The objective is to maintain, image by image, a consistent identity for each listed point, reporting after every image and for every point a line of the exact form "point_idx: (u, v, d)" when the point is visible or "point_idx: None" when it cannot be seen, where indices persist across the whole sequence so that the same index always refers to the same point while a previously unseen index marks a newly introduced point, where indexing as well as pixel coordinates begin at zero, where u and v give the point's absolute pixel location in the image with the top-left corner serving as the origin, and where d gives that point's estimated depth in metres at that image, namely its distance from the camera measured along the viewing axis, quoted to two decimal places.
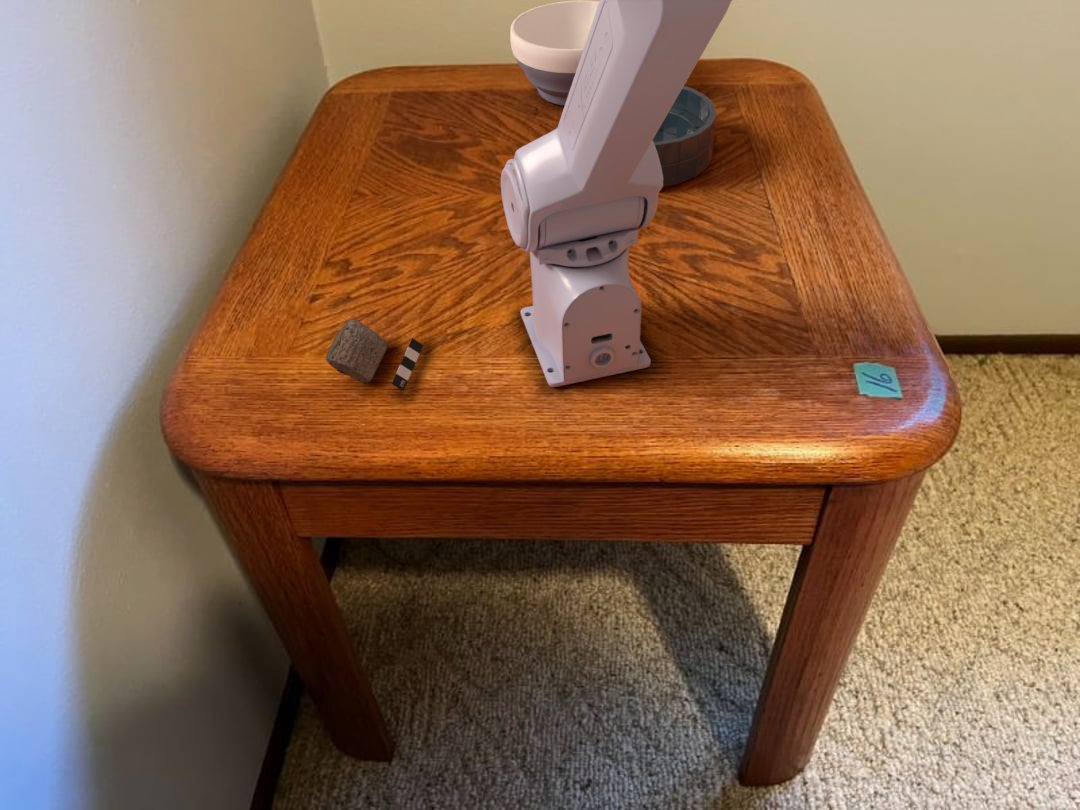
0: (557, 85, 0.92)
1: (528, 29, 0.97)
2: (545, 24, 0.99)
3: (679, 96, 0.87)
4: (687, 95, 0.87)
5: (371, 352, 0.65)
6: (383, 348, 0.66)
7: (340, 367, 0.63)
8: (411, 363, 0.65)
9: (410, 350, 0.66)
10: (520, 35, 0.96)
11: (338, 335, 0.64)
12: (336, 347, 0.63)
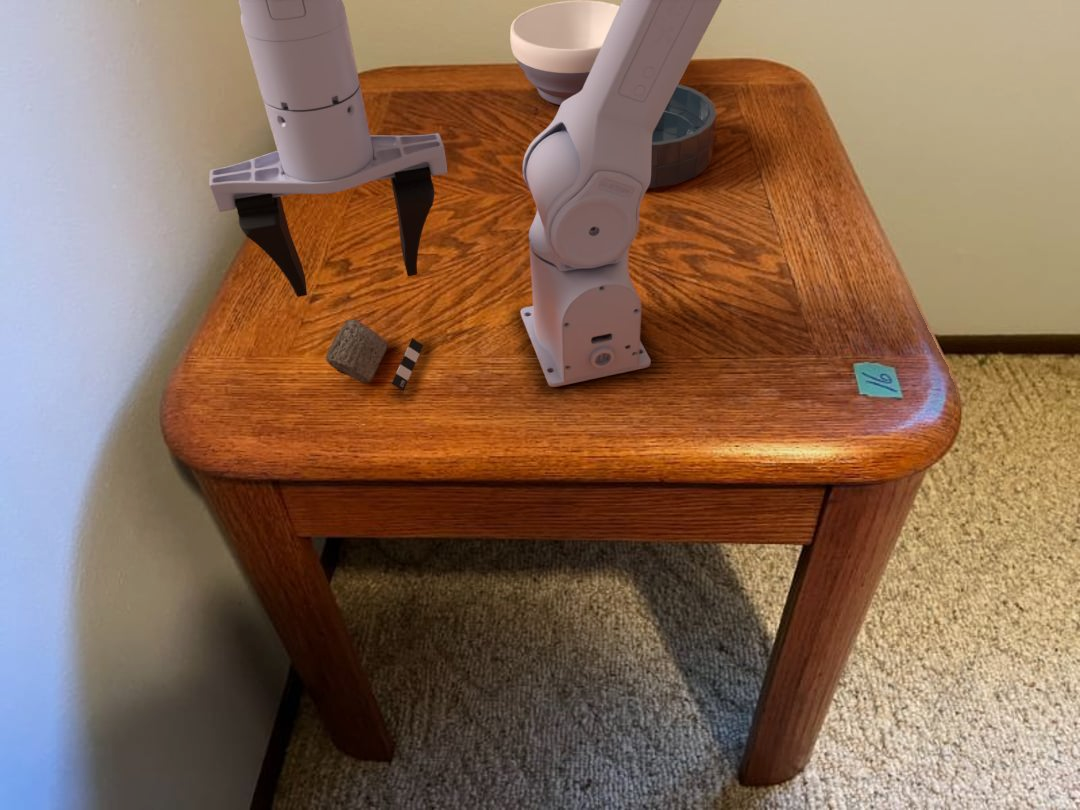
0: (557, 85, 0.92)
1: (528, 29, 0.97)
2: (545, 24, 0.99)
3: (679, 96, 0.87)
4: (687, 95, 0.87)
5: (371, 352, 0.65)
6: (383, 348, 0.66)
7: (340, 367, 0.63)
8: (411, 363, 0.65)
9: (410, 350, 0.66)
10: (520, 35, 0.96)
11: (338, 335, 0.64)
12: (336, 347, 0.63)
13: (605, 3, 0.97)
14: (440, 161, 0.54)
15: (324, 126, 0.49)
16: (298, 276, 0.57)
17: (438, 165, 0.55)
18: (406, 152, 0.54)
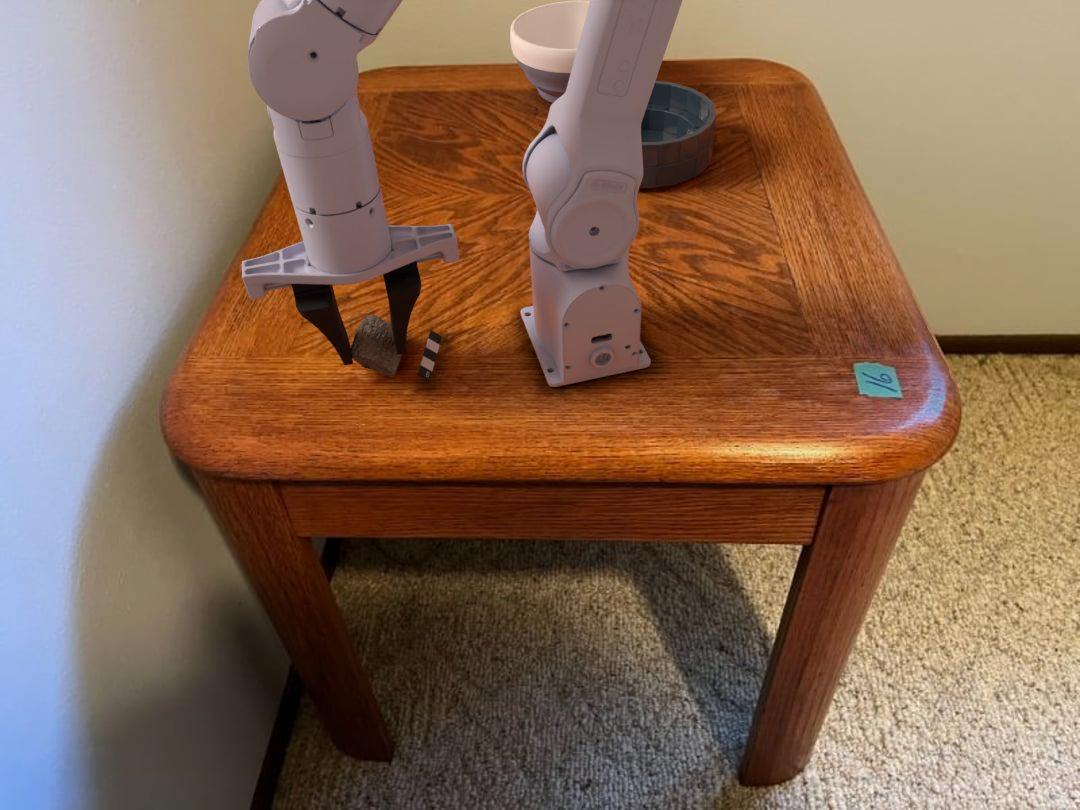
0: (557, 85, 0.92)
1: (528, 29, 0.97)
2: (545, 24, 0.99)
3: (679, 96, 0.87)
4: (687, 95, 0.87)
5: (393, 345, 0.65)
6: None
7: (365, 362, 0.63)
8: (433, 355, 0.66)
9: (431, 341, 0.66)
10: (520, 35, 0.96)
11: (359, 330, 0.64)
12: (359, 342, 0.64)
13: None
14: (453, 250, 0.59)
15: (348, 227, 0.54)
16: (346, 348, 0.62)
17: (451, 254, 0.59)
18: (421, 242, 0.59)
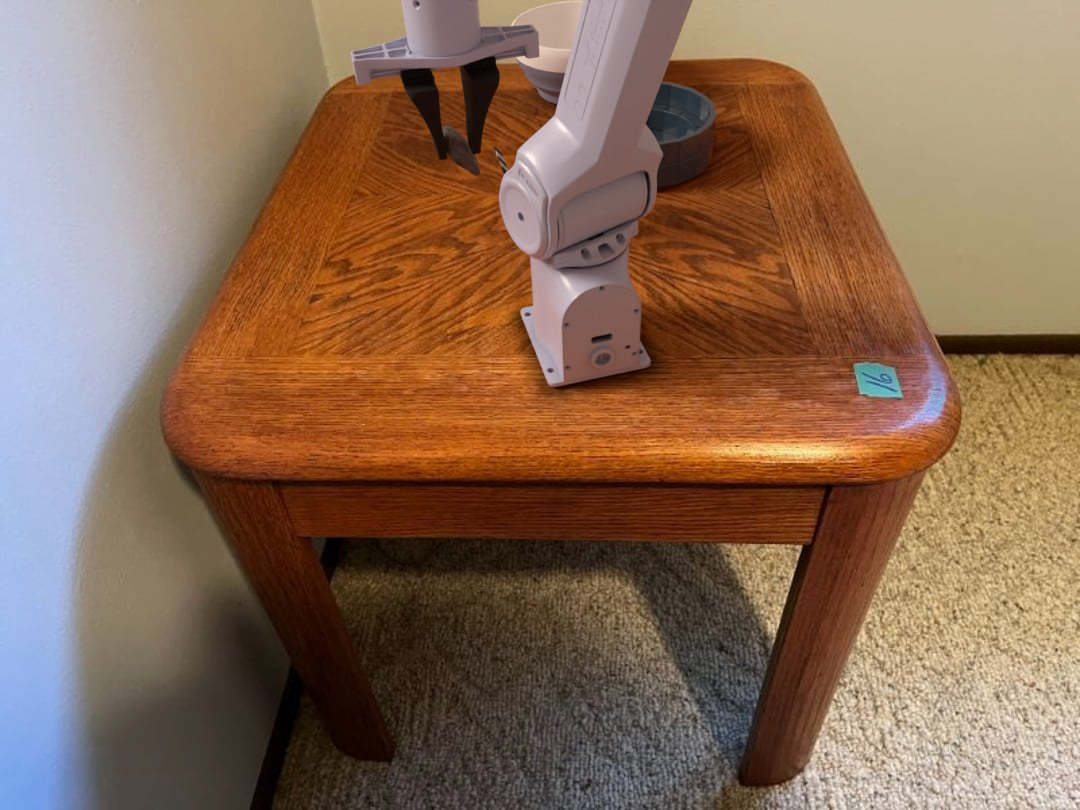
0: (557, 85, 0.92)
1: None
2: (545, 24, 0.99)
3: (679, 96, 0.87)
4: (687, 95, 0.87)
5: None
6: None
7: (459, 157, 0.71)
8: (504, 163, 0.75)
9: (498, 153, 0.76)
10: None
11: (447, 133, 0.72)
12: (452, 141, 0.72)
13: None
14: (534, 45, 0.67)
15: (450, 8, 0.62)
16: (443, 140, 0.70)
17: (532, 49, 0.67)
18: (507, 38, 0.67)
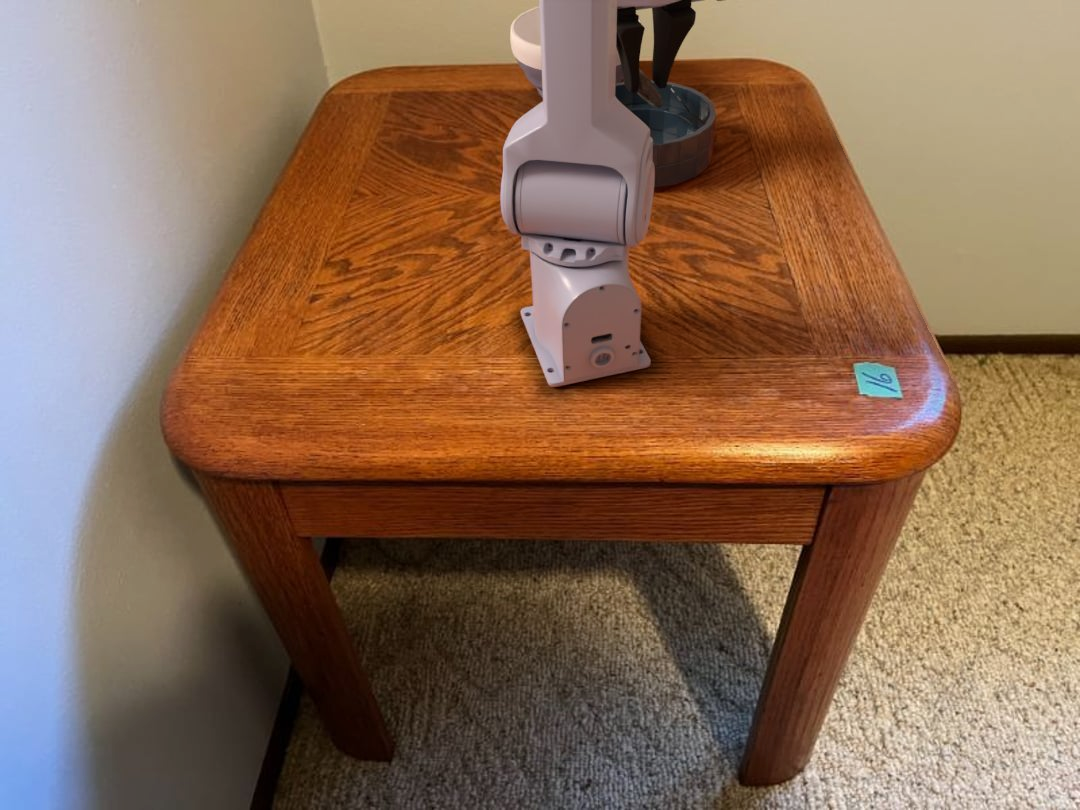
0: None
1: (528, 29, 0.97)
2: None
3: (679, 96, 0.87)
4: (687, 95, 0.87)
5: None
6: None
7: (648, 90, 0.81)
8: None
9: None
10: (520, 35, 0.96)
11: None
12: (641, 76, 0.81)
13: None
14: None
15: None
16: (638, 74, 0.79)
17: None
18: None
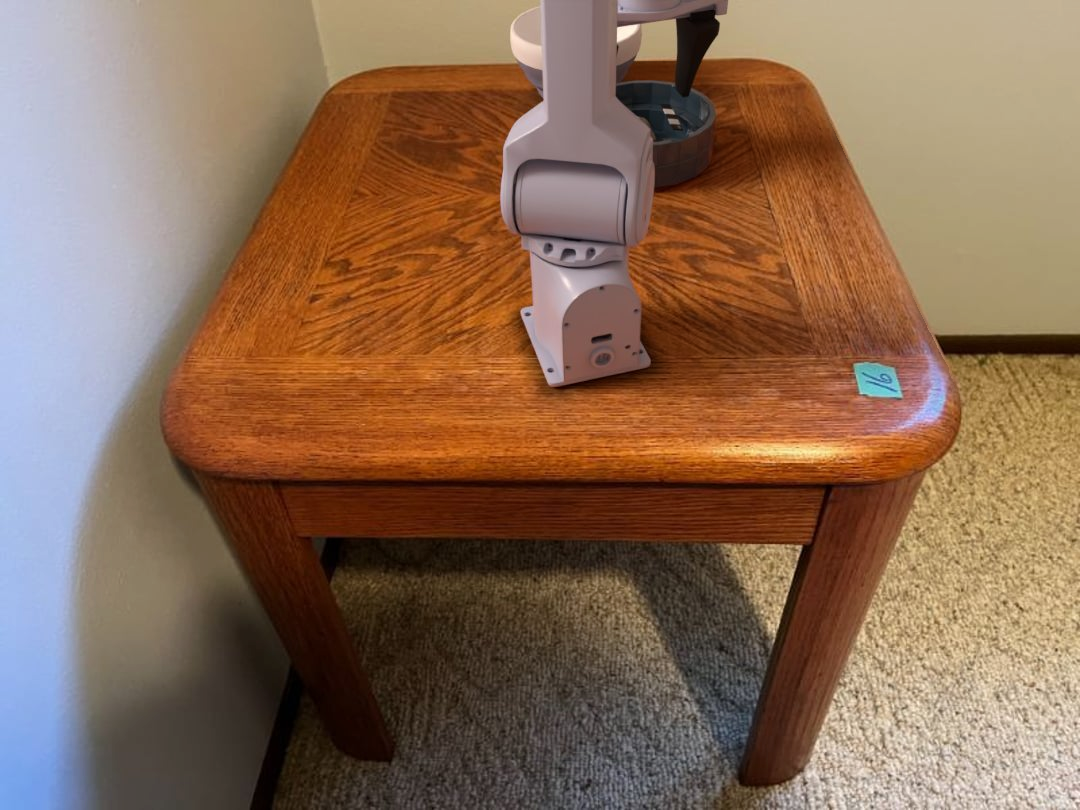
0: None
1: (528, 29, 0.97)
2: None
3: (679, 96, 0.87)
4: None
5: None
6: (646, 121, 0.87)
7: None
8: (673, 115, 0.86)
9: (666, 109, 0.87)
10: (520, 35, 0.96)
11: None
12: None
13: None
14: (724, 4, 0.77)
15: None
16: None
17: (722, 7, 0.77)
18: None
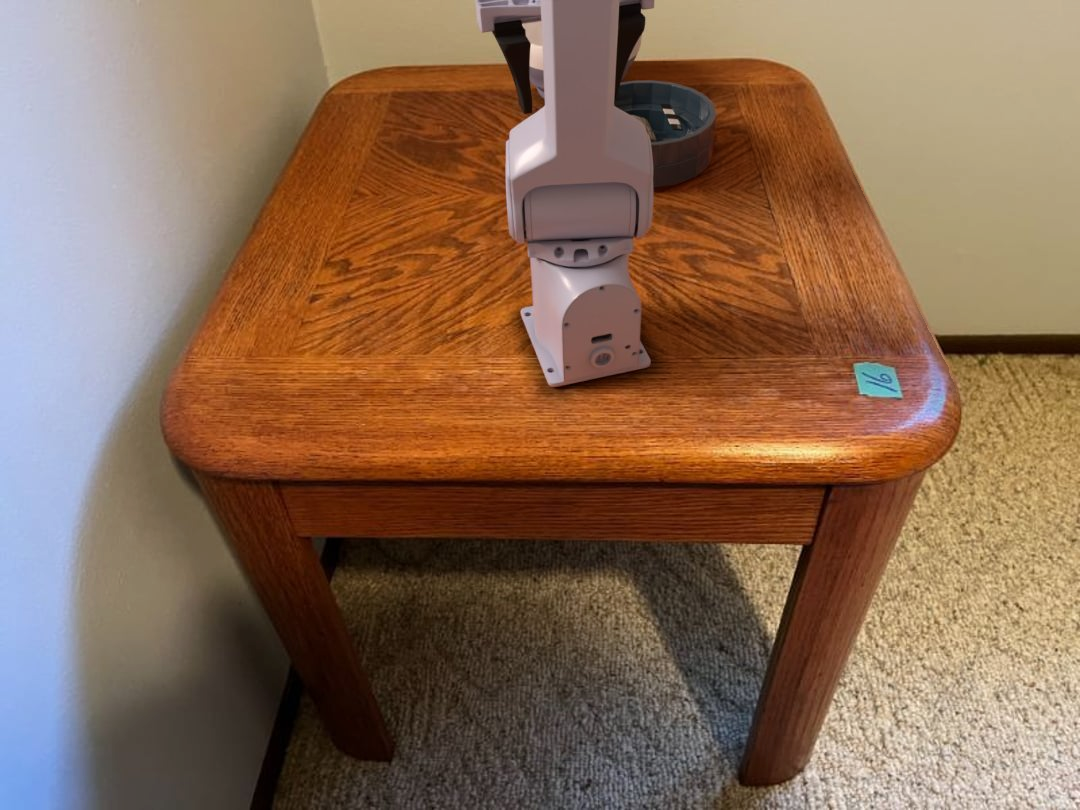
0: None
1: (528, 29, 0.97)
2: None
3: (679, 96, 0.87)
4: (687, 95, 0.87)
5: None
6: (646, 121, 0.87)
7: None
8: (673, 115, 0.86)
9: (666, 109, 0.87)
10: None
11: None
12: None
13: None
14: None
15: None
16: (530, 93, 0.72)
17: (648, 0, 0.69)
18: None
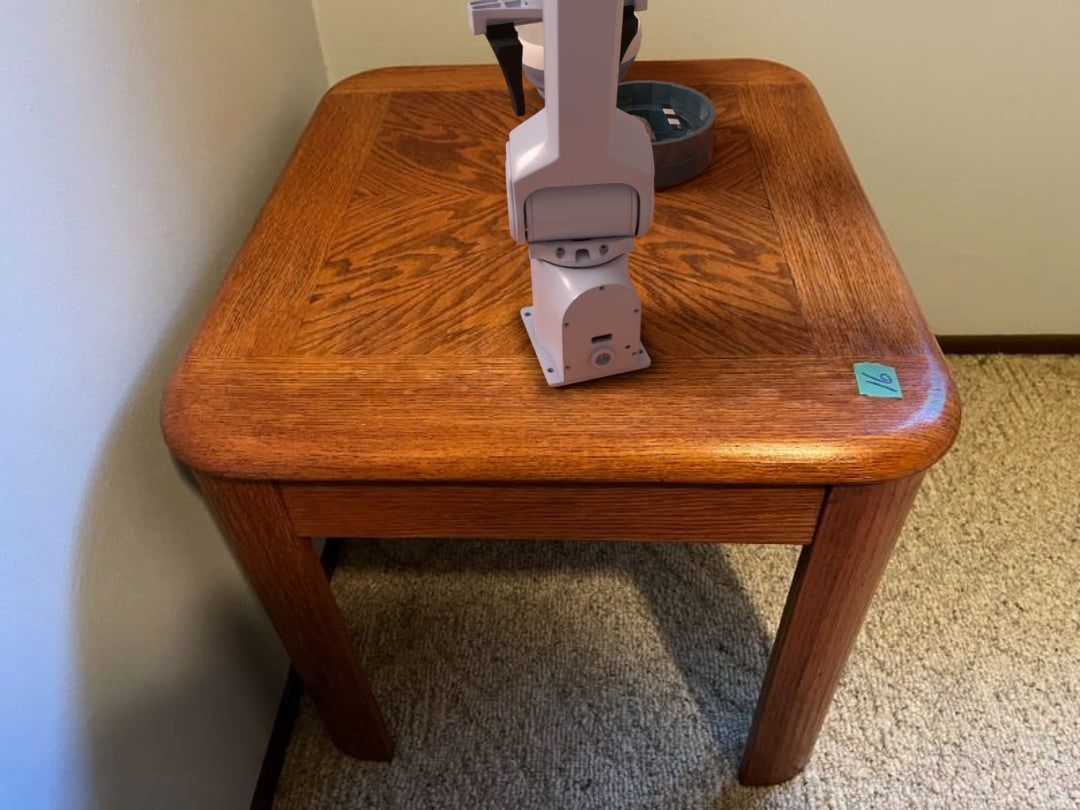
0: None
1: (528, 29, 0.97)
2: None
3: (679, 96, 0.87)
4: (687, 95, 0.87)
5: None
6: (646, 121, 0.87)
7: None
8: (673, 115, 0.86)
9: (666, 109, 0.87)
10: (520, 35, 0.96)
11: None
12: None
13: None
14: None
15: None
16: (523, 96, 0.71)
17: (641, 2, 0.69)
18: None
